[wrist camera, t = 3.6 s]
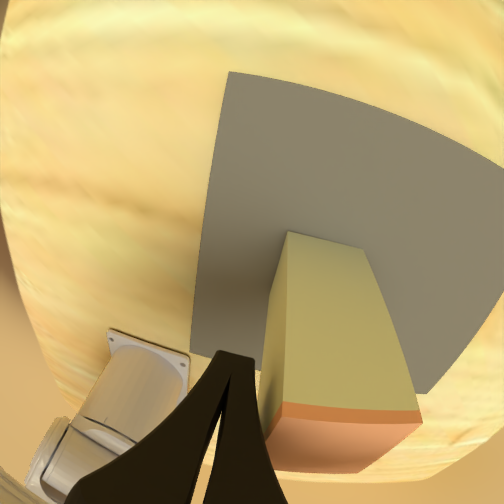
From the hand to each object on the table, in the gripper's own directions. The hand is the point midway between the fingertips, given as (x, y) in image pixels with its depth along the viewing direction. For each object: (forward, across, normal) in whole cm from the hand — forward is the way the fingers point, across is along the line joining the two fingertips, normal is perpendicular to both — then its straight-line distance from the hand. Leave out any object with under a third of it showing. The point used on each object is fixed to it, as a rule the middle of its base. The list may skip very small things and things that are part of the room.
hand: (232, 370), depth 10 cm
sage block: (+8, -3, 0) cm, 9 cm away
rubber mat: (+9, -7, 0) cm, 12 cm away
